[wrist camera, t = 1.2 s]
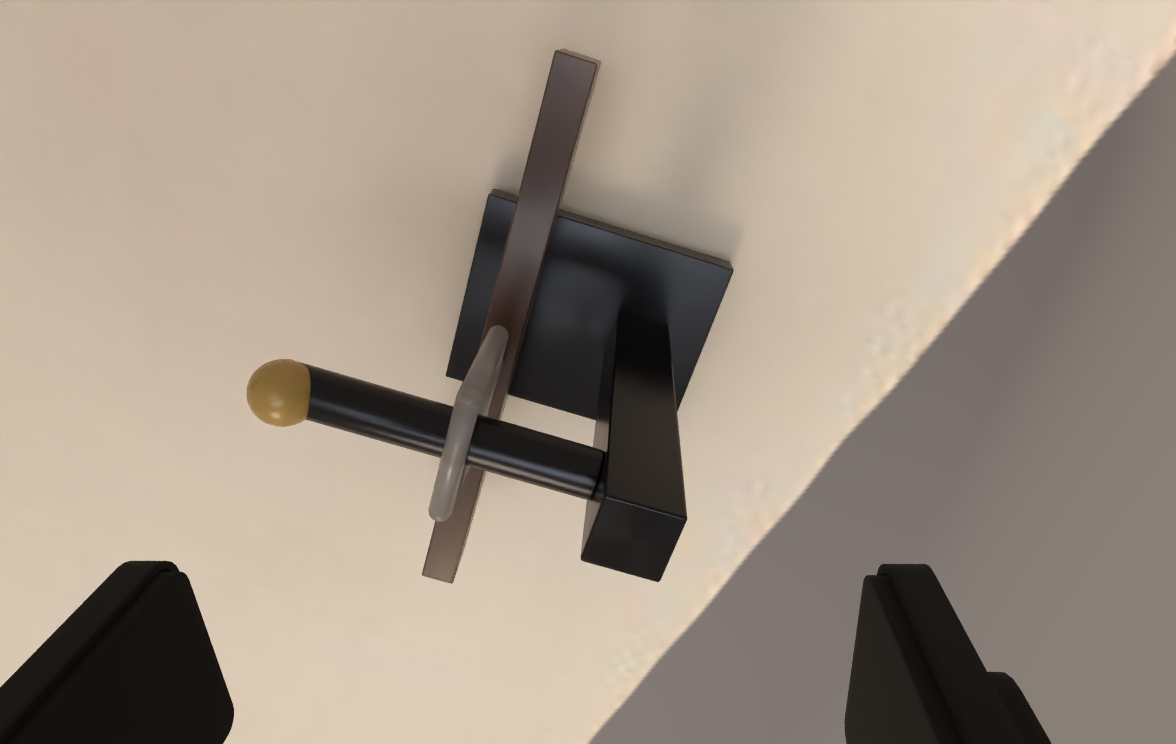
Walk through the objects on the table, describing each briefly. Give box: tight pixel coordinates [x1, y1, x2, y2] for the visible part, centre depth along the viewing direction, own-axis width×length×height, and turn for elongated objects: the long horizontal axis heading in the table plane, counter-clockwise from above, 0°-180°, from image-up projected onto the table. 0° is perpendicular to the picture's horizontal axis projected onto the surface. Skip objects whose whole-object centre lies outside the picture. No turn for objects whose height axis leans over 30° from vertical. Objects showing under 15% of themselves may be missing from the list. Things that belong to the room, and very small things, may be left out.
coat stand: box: [247, 189, 733, 582], centre depth 27 cm, size 15×9×16 cm, turn 74°
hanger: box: [422, 49, 601, 583], centre depth 25 cm, size 1×22×10 cm, turn 164°
